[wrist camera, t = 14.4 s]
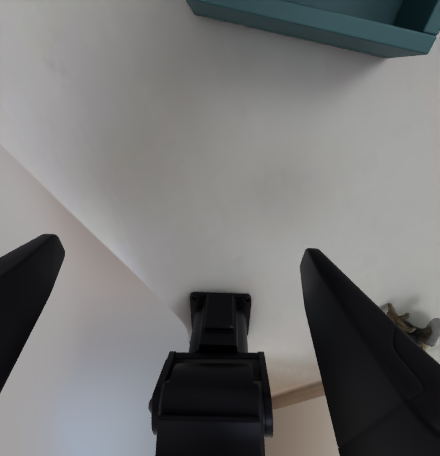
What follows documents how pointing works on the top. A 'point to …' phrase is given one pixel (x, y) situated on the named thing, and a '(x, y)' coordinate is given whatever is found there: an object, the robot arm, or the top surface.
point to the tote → (338, 22)
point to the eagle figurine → (417, 329)
